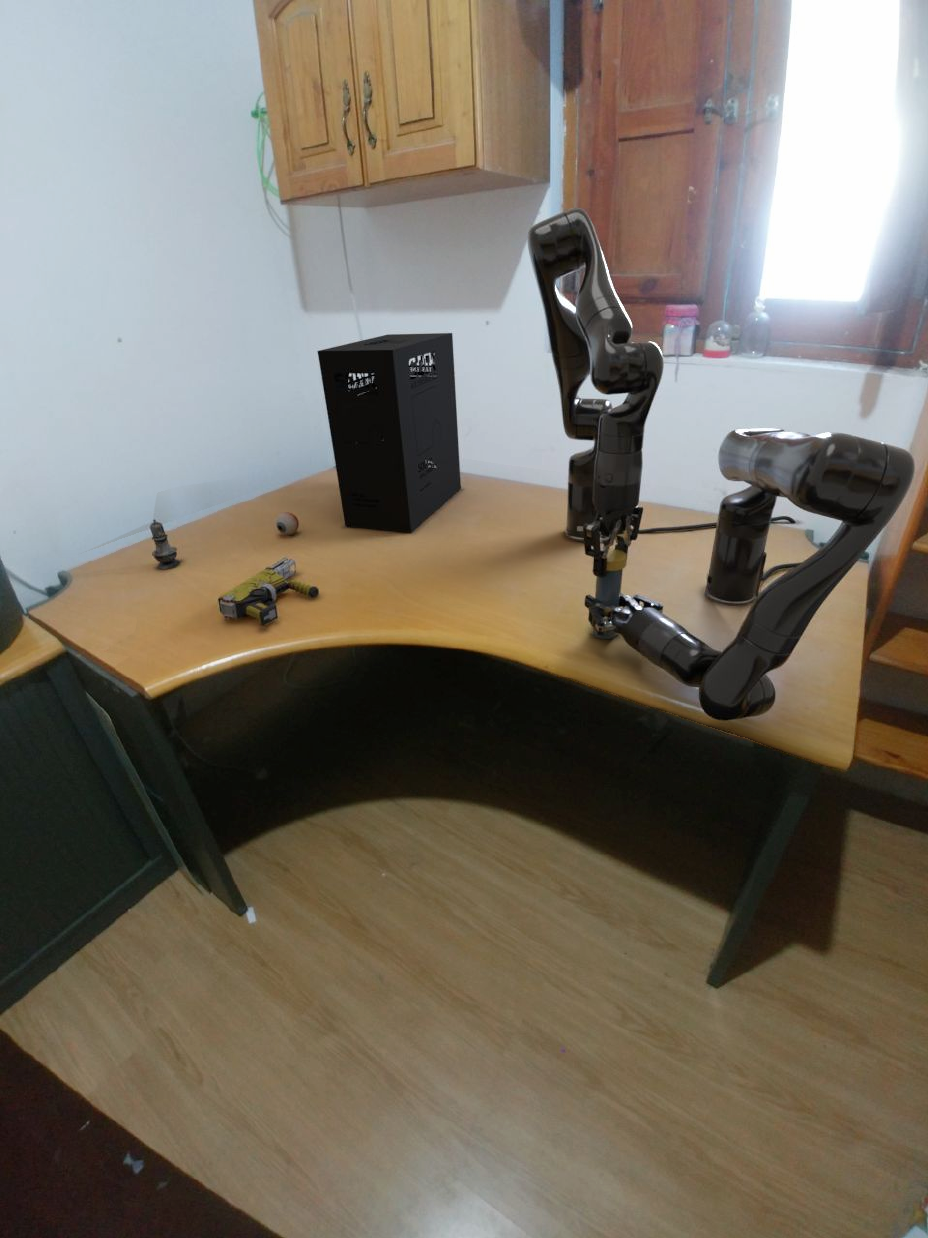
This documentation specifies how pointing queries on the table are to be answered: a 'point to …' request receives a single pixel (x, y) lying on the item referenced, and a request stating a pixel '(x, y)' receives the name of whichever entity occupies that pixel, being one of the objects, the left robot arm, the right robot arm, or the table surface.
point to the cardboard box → (393, 428)
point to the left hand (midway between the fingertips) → (609, 570)
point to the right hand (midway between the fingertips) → (598, 596)
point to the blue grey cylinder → (608, 595)
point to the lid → (616, 560)
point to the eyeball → (287, 523)
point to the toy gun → (262, 593)
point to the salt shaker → (163, 547)
